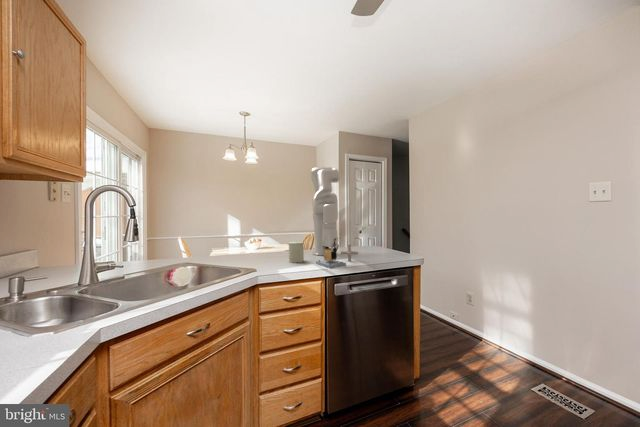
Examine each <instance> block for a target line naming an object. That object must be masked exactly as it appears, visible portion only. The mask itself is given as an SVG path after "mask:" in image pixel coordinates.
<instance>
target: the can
mask: <svg viewBox="0 0 640 427" xmlns="http://www.w3.org/2000/svg"><path fill="white" fill-rule="evenodd" d="M304 243H305V242H304V241H297V240H296V241H289V242H288V262H289V263H292V262H298V263H303V262H304V261H305V260H304V259H305V256H304Z"/></svg>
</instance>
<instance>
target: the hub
mask: <svg viewBox="0 0 640 427" xmlns="http://www.w3.org/2000/svg"><path fill="white" fill-rule="evenodd" d="M333 249H334V247H333ZM331 252H332V249H331V247H329V248H326V249H324V255H323V258H324V259H323V260H326V261H334V260H337V258H336V259H331Z"/></svg>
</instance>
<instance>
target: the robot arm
mask: <svg viewBox="0 0 640 427" xmlns="http://www.w3.org/2000/svg"><path fill="white" fill-rule="evenodd" d="M340 175H341V174H340V172H339V170H338V169H337V168H336V167H330V166H329V167H327V166H326V167H325V166H322V167H318V166H317V167H312V169H311V170H310V179H311V181H312V184H313V188H314V191H313V192H314V195H313V198H312V220H313V230H314V231H313V232H314V236H313V237H314V247H313V249H312V250H313V251H312V255H314V256H324V249H326V248H331V249H332V252H331V259H336V260H337V256H338V253H337V252H338V249H339V248H340V244H339V241H338V239H339V238H338V229H337V227H338V226H337V224H338V223H337V221H338V219H339V211H338V210H339V208H338V207H339V205H338V204H339V202H338V196H337V194H336V193H334V192H333V186H332V183H339V182H340V178H341V176H340ZM333 248H334V249H333Z"/></svg>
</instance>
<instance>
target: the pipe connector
mask: <svg viewBox="0 0 640 427" xmlns="http://www.w3.org/2000/svg"><path fill="white" fill-rule="evenodd" d="M340 255H347V261H348V262H352V255H359V251H356V250H354V251H353V250H352V245H351V244H347V250H340Z"/></svg>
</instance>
